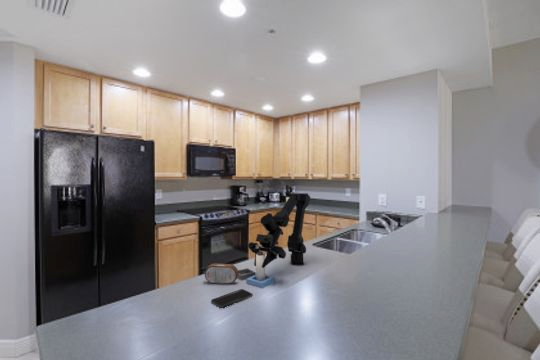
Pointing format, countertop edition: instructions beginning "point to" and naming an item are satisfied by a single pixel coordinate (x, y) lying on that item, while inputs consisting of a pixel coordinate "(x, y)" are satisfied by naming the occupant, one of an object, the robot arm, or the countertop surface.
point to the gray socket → (245, 276)
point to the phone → (231, 298)
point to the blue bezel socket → (260, 284)
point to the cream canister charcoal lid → (260, 266)
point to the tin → (221, 273)
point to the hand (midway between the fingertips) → (258, 266)
